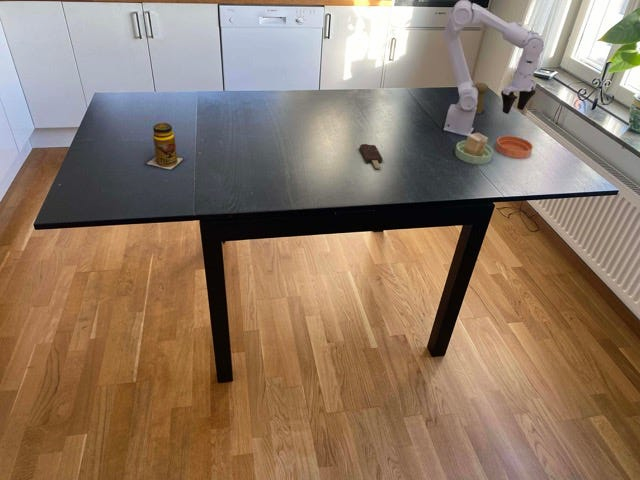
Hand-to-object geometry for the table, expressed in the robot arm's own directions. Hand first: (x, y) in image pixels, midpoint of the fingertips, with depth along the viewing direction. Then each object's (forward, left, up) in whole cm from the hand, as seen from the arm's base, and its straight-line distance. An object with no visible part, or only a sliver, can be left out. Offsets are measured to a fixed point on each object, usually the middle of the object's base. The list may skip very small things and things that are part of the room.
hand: (512, 111), depth 177 cm
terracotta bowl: (+5, -9, -10) cm, 15 cm away
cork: (-15, +19, -11) cm, 26 cm away
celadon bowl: (-6, -21, -10) cm, 25 cm away
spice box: (-6, -21, -10) cm, 24 cm away
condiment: (-87, -80, -11) cm, 119 cm away
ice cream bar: (-34, -42, -10) cm, 56 cm away
